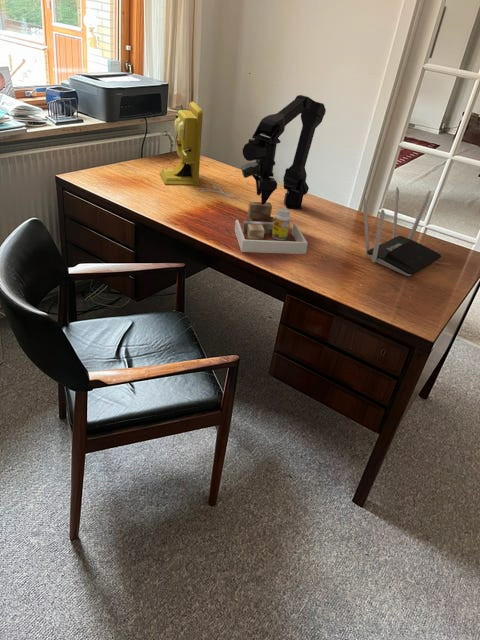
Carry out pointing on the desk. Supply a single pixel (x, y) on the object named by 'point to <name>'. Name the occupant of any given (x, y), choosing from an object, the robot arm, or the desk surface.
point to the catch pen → (273, 243)
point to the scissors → (219, 192)
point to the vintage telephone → (186, 148)
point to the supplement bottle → (281, 224)
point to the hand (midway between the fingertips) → (260, 199)
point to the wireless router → (399, 245)
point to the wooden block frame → (259, 216)
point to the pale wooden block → (255, 231)
